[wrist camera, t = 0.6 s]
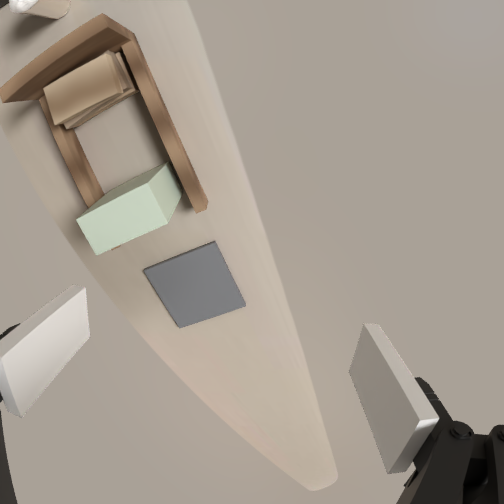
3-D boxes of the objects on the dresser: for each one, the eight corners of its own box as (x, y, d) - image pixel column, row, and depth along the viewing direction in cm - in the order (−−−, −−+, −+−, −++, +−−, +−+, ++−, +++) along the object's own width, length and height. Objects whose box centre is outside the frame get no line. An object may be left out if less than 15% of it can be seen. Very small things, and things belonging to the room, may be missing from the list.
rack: (47, 87, 29) (-2, 89, 20) (134, 33, 28) (102, 13, 19) (119, 239, 38) (91, 280, 29) (208, 201, 37) (201, 235, 28)
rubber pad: (144, 268, 40) (143, 270, 40) (215, 240, 39) (214, 242, 39) (180, 325, 45) (179, 328, 44) (245, 303, 44) (245, 306, 43)
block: (110, 190, 36) (76, 219, 27) (168, 161, 35) (147, 182, 26) (125, 218, 37) (96, 255, 28) (183, 192, 36) (168, 223, 27)
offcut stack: (63, 90, 29) (38, 90, 24) (124, 52, 29) (105, 45, 23) (78, 127, 32) (55, 133, 27) (140, 92, 31) (124, 90, 26)
